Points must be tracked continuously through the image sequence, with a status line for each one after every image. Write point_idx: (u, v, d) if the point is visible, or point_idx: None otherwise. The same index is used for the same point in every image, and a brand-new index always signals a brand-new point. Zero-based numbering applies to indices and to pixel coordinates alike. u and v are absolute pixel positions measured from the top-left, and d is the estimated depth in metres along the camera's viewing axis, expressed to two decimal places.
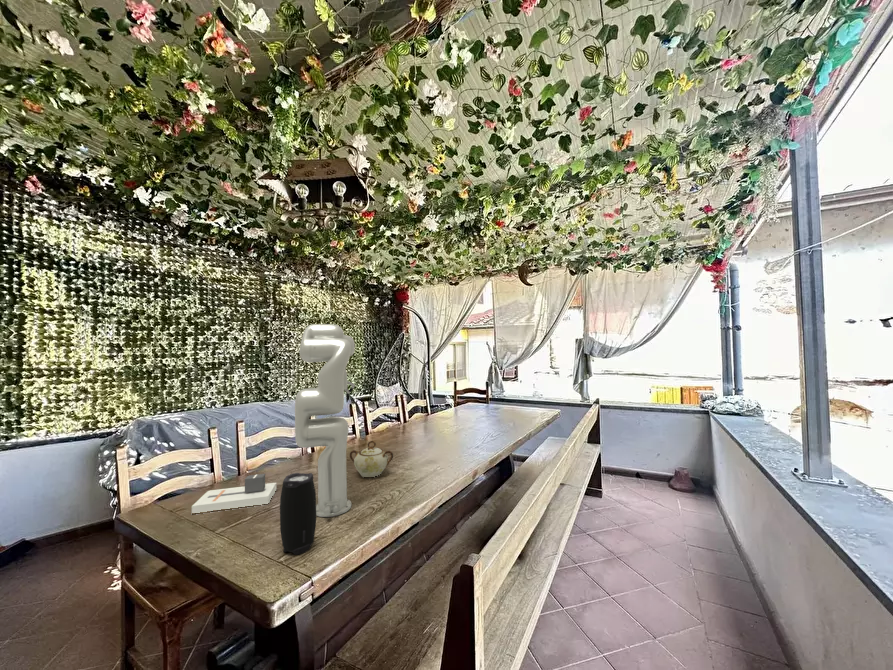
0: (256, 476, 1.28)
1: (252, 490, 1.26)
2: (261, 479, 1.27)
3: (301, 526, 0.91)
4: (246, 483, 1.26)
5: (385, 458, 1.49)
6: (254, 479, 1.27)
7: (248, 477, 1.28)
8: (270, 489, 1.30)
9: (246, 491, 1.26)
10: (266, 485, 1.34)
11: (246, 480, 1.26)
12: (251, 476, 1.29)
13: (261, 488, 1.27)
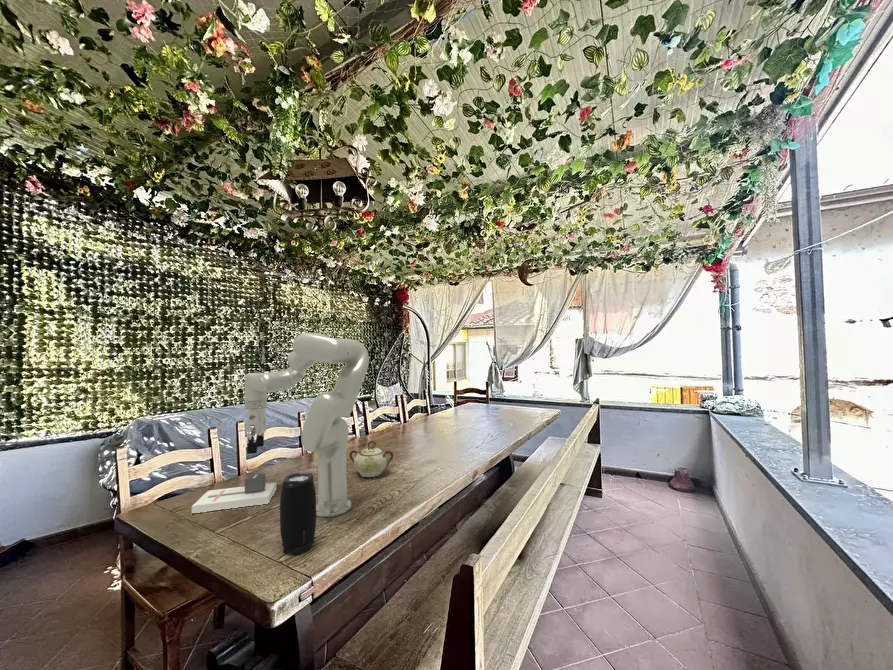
0: (256, 476, 1.28)
1: (252, 490, 1.26)
2: (261, 479, 1.27)
3: (301, 526, 0.91)
4: (246, 483, 1.26)
5: (385, 458, 1.49)
6: (254, 479, 1.27)
7: (248, 477, 1.28)
8: (270, 489, 1.30)
9: (246, 491, 1.26)
10: (266, 485, 1.34)
11: (246, 480, 1.26)
12: (251, 476, 1.29)
13: (261, 488, 1.27)
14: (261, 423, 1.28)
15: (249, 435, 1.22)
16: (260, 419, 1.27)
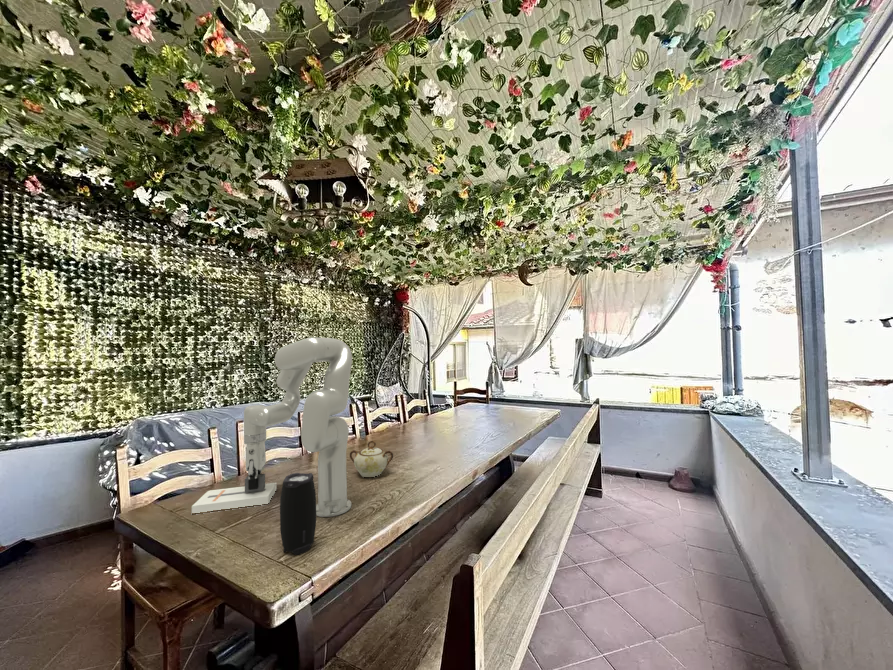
0: None
1: (252, 490, 1.26)
2: (261, 479, 1.27)
3: (301, 526, 0.91)
4: (246, 483, 1.26)
5: (385, 458, 1.49)
6: None
7: None
8: (270, 489, 1.30)
9: (246, 491, 1.26)
10: (266, 485, 1.34)
11: (246, 480, 1.26)
12: None
13: (261, 488, 1.27)
14: (260, 457, 1.27)
15: (250, 474, 1.23)
16: (259, 454, 1.26)
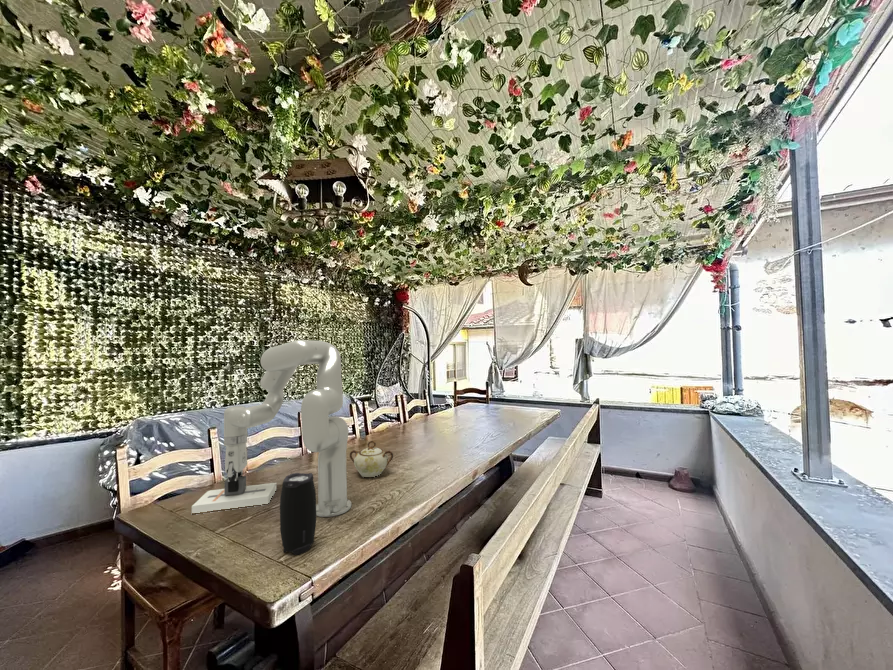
0: None
1: (232, 493, 1.25)
2: (241, 481, 1.26)
3: (301, 526, 0.91)
4: (226, 485, 1.24)
5: (385, 458, 1.49)
6: None
7: None
8: (270, 489, 1.30)
9: (226, 494, 1.24)
10: (266, 485, 1.34)
11: (226, 482, 1.24)
12: None
13: (241, 490, 1.25)
14: (241, 459, 1.25)
15: (229, 477, 1.21)
16: (239, 456, 1.24)
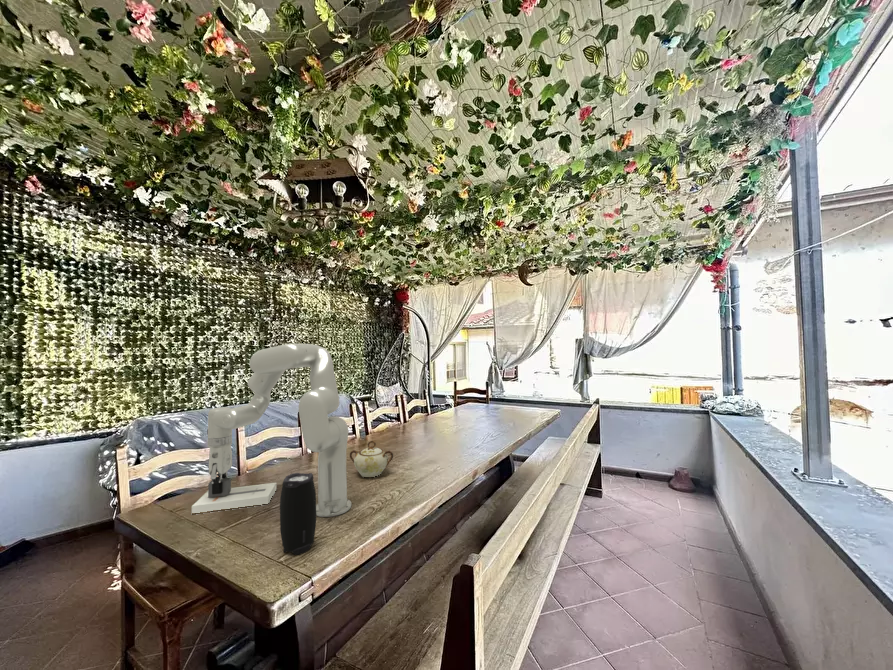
0: None
1: (216, 495, 1.23)
2: (225, 483, 1.24)
3: (301, 526, 0.91)
4: (210, 487, 1.23)
5: (385, 458, 1.49)
6: None
7: None
8: (270, 489, 1.30)
9: (210, 496, 1.23)
10: (266, 485, 1.34)
11: (210, 484, 1.23)
12: None
13: (225, 492, 1.24)
14: (225, 461, 1.24)
15: (213, 479, 1.20)
16: (223, 457, 1.23)
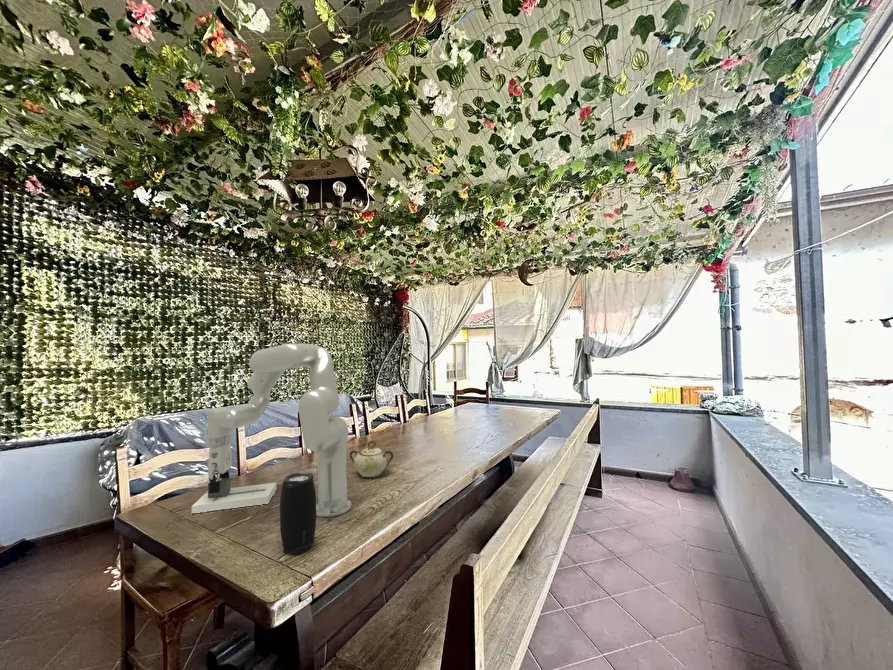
0: (220, 480, 1.25)
1: (215, 495, 1.23)
2: (225, 483, 1.24)
3: (301, 526, 0.91)
4: None
5: (385, 458, 1.49)
6: None
7: None
8: (270, 489, 1.30)
9: (209, 496, 1.23)
10: (266, 485, 1.34)
11: None
12: None
13: (225, 493, 1.24)
14: (224, 460, 1.24)
15: (210, 475, 1.18)
16: (222, 457, 1.22)
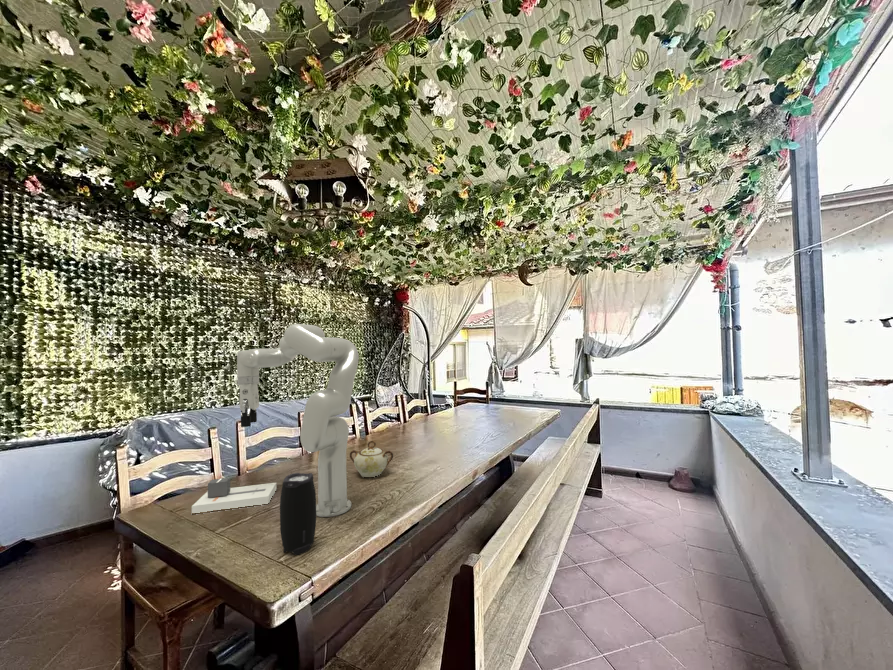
0: (220, 480, 1.25)
1: (215, 495, 1.23)
2: (225, 483, 1.24)
3: (301, 526, 0.91)
4: (210, 487, 1.23)
5: (385, 458, 1.49)
6: (218, 483, 1.24)
7: (211, 481, 1.24)
8: (270, 489, 1.30)
9: (209, 496, 1.23)
10: (266, 485, 1.34)
11: (209, 484, 1.23)
12: (215, 480, 1.25)
13: (225, 493, 1.24)
14: (254, 398, 1.32)
15: (243, 408, 1.26)
16: (253, 394, 1.31)
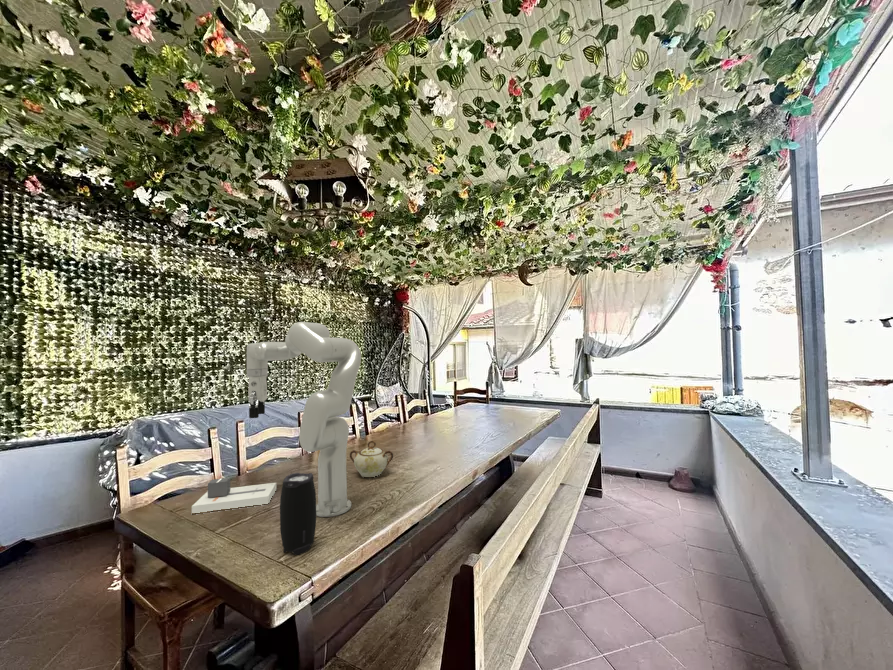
0: (220, 480, 1.25)
1: (215, 495, 1.23)
2: (225, 483, 1.24)
3: (301, 526, 0.91)
4: (210, 487, 1.23)
5: (385, 458, 1.49)
6: (218, 483, 1.24)
7: (211, 481, 1.24)
8: (270, 489, 1.30)
9: (209, 496, 1.23)
10: (266, 485, 1.34)
11: (209, 484, 1.23)
12: (215, 480, 1.25)
13: (225, 493, 1.24)
14: (262, 390, 1.35)
15: (251, 400, 1.29)
16: (261, 386, 1.34)
